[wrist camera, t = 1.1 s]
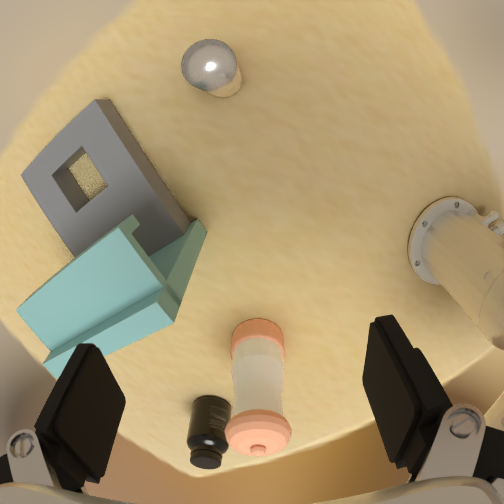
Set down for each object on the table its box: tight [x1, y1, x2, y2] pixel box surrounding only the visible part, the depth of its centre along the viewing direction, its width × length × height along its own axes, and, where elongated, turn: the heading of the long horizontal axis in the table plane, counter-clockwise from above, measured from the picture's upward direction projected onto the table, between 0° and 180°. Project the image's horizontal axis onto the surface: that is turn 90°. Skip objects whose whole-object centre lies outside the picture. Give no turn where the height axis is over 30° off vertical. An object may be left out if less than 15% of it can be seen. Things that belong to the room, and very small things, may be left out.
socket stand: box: [16, 100, 207, 378], centre depth 28 cm, size 16×20×18 cm
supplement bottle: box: [187, 396, 231, 469], centre depth 46 cm, size 7×7×12 cm
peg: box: [181, 39, 242, 98], centre depth 26 cm, size 4×4×12 cm
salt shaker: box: [225, 319, 291, 456], centre depth 36 cm, size 7×7×19 cm
